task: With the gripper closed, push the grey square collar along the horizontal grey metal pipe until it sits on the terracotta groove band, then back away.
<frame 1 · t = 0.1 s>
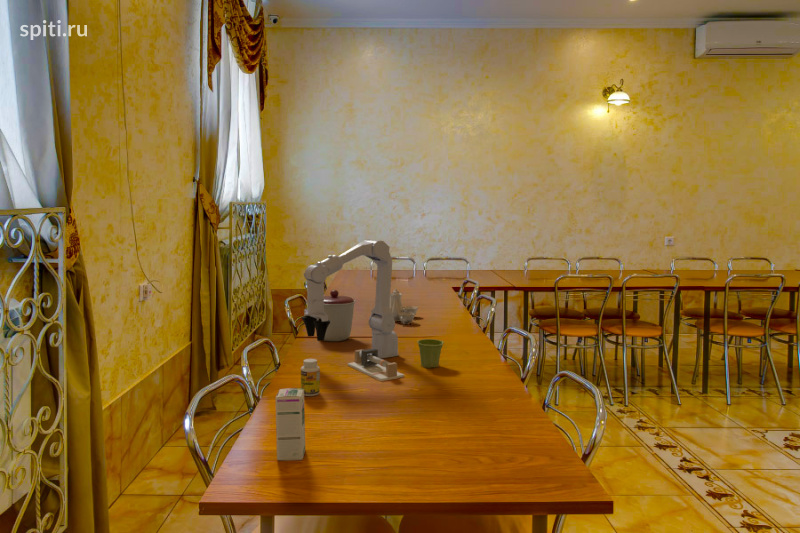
hand: (315, 338, 196), 10 cm above the table, tool pointing down, fingers open, 7 cm apart
canister: (334, 339, 239), on the table
pipe rig: (374, 371, 192), on the table
supplement bottle: (310, 394, 167), on the table
plant pot: (430, 366, 199), on the table
grey square collar: (369, 357, 194), point 4 cm above the table, slide at 0.0 cm
chinaware: (401, 321, 282), on the table
syrup box: (291, 455, 125), on the table
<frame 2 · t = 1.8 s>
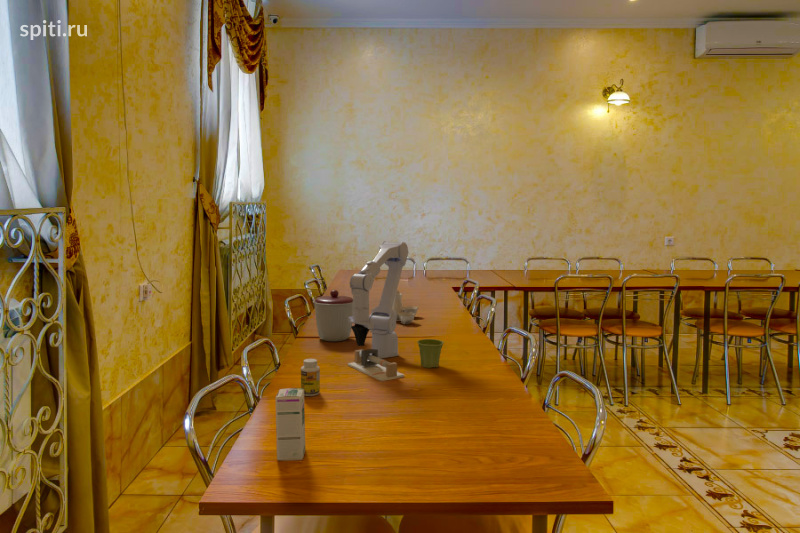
hand: (360, 345, 199), 7 cm above the table, tool pointing down, fingers closed
nothing on the table moved.
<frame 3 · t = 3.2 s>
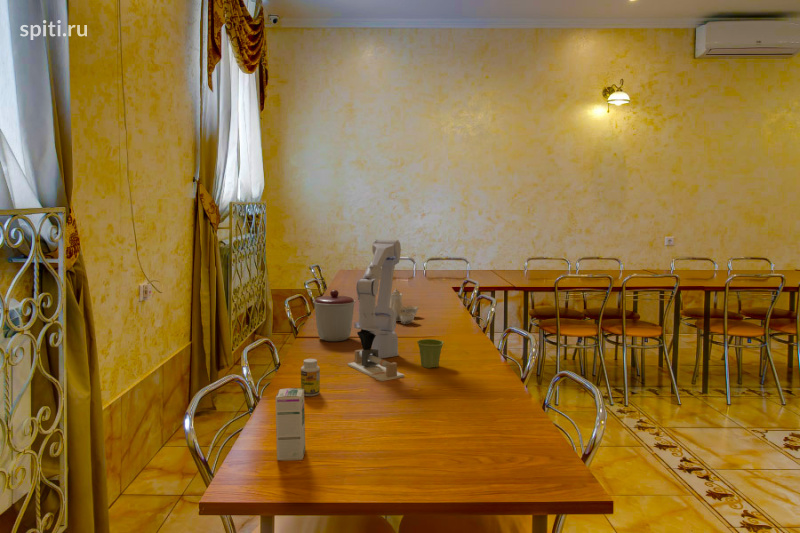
hand: (366, 351, 196), 6 cm above the table, tool pointing down, fingers closed
grey square collar: (370, 357, 194), point 4 cm above the table, slide at 0.3 cm, touching gripper
everything else where it was.
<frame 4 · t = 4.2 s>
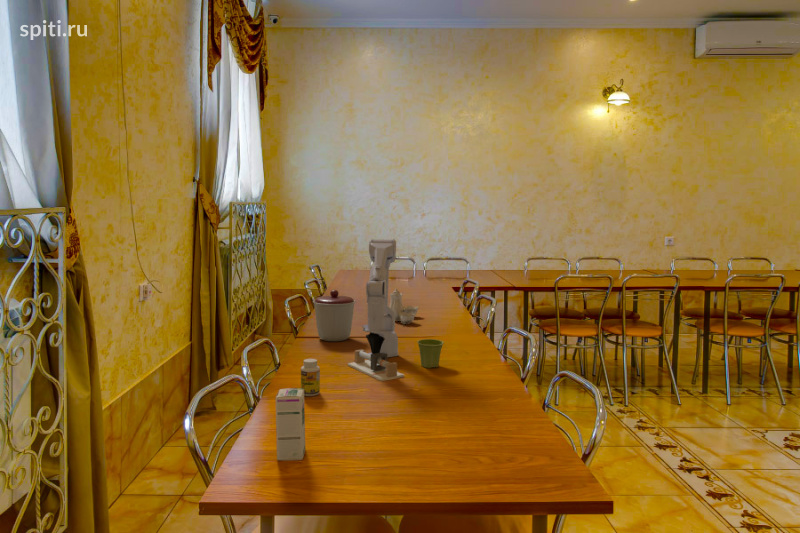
hand: (375, 355, 191), 6 cm above the table, tool pointing down, fingers closed
grey square collar: (379, 361, 189), point 4 cm above the table, slide at 6.1 cm, touching gripper
everything else where it was.
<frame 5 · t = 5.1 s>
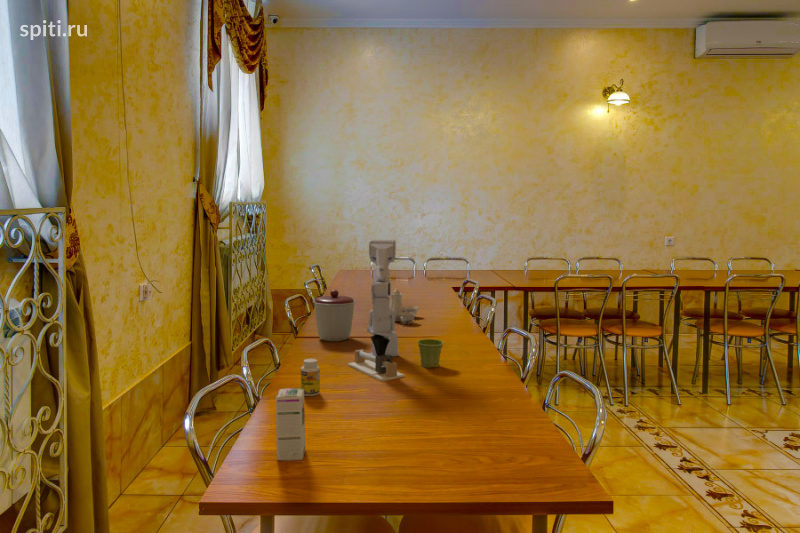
hand: (380, 357, 188), 6 cm above the table, tool pointing down, fingers closed
grey square collar: (383, 363, 187), point 4 cm above the table, slide at 9.2 cm, touching gripper
everything else where it was.
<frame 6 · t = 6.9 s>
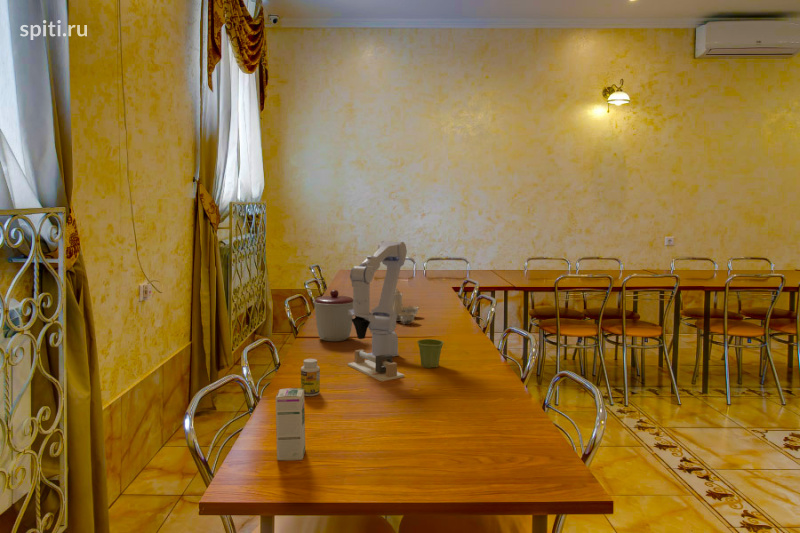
hand: (361, 338, 197), 10 cm above the table, tool pointing down, fingers closed
grey square collar: (384, 363, 187), point 4 cm above the table, slide at 9.2 cm
everything else where it was.
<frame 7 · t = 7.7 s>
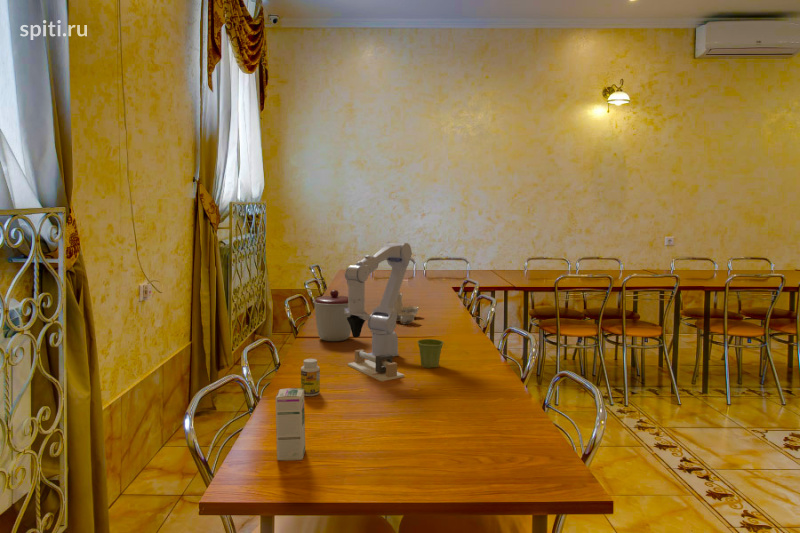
hand: (356, 336, 199), 10 cm above the table, tool pointing down, fingers closed
nothing on the table moved.
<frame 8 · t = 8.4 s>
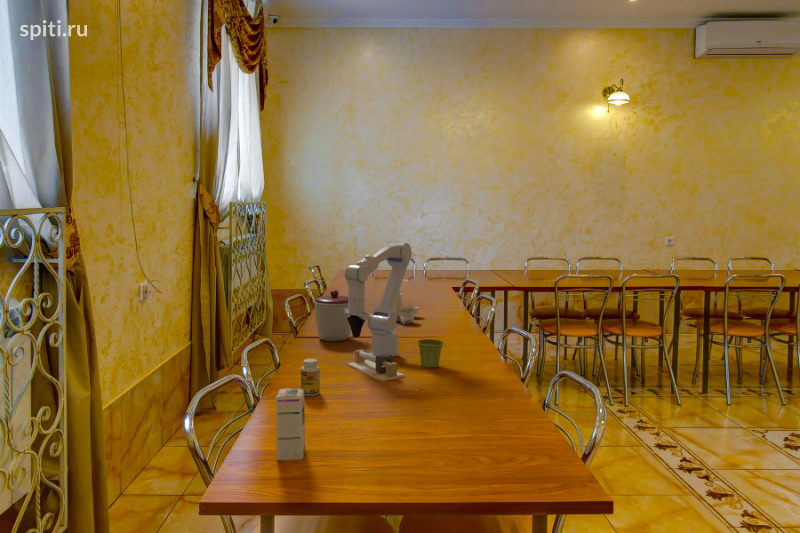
hand: (356, 336, 199), 10 cm above the table, tool pointing down, fingers closed
nothing on the table moved.
at the end: grey square collar slide at 9.2 cm; the gripper is holding nothing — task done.
